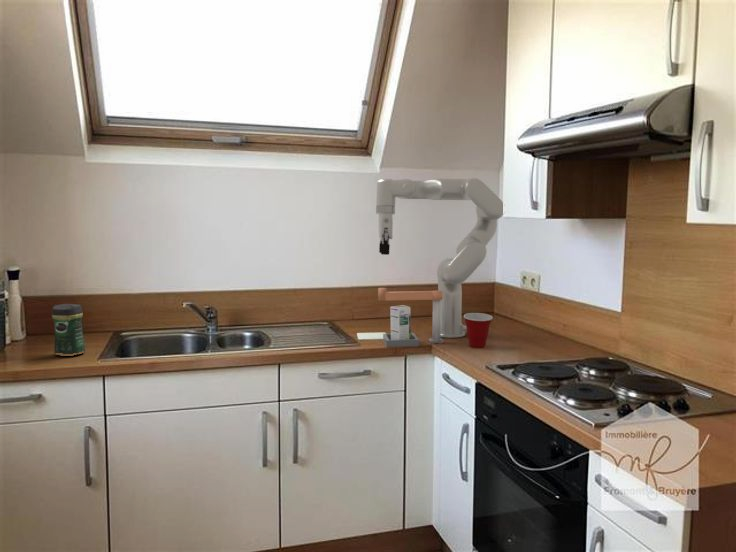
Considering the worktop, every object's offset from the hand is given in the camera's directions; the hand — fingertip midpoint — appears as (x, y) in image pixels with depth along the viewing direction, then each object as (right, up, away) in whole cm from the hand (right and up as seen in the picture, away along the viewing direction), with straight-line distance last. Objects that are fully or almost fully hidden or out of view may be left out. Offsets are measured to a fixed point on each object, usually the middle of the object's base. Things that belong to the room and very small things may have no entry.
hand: (384, 253), depth 234 cm
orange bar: (+10, -18, -9) cm, 22 cm away
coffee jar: (-114, -38, -23) cm, 122 cm away
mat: (-5, -34, +5) cm, 34 cm away
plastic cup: (+35, -36, -14) cm, 52 cm away
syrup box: (+6, -35, -7) cm, 36 cm away
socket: (+11, -35, -7) cm, 37 cm away
